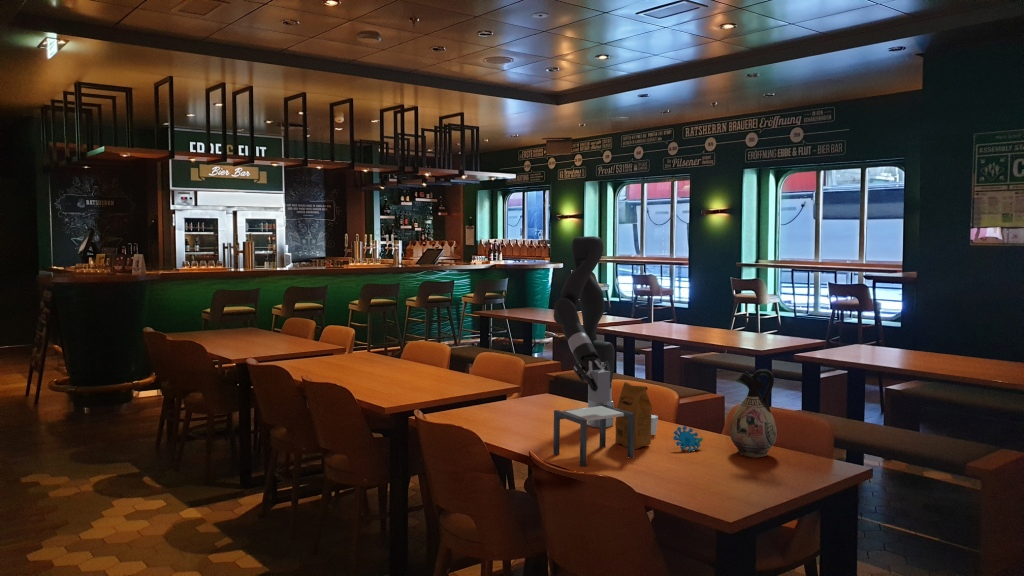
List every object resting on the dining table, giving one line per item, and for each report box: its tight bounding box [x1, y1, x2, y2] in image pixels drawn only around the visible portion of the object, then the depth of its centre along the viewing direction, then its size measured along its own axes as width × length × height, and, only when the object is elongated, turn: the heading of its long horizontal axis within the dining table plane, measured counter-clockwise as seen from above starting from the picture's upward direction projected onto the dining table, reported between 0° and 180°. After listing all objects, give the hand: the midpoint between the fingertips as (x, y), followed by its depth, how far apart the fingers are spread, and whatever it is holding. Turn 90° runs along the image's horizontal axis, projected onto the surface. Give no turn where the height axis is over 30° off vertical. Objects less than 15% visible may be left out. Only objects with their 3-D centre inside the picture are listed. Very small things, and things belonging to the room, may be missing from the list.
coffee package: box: [614, 381, 653, 450], centre depth 274 cm, size 10×12×22 cm
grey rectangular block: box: [587, 369, 610, 403], centre depth 256 cm, size 5×5×10 cm
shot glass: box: [651, 413, 659, 436], centre depth 290 cm, size 7×7×7 cm
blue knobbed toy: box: [673, 425, 704, 452], centre depth 271 cm, size 11×6×10 cm
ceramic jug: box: [729, 368, 778, 458], centre depth 263 cm, size 17×15×30 cm
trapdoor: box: [562, 406, 624, 422], centre depth 260 cm, size 16×13×1 cm
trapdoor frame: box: [552, 404, 635, 467], centre depth 260 cm, size 21×17×15 cm
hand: (602, 389), depth 255 cm, fingers closed on grey rectangular block, 5 cm apart
